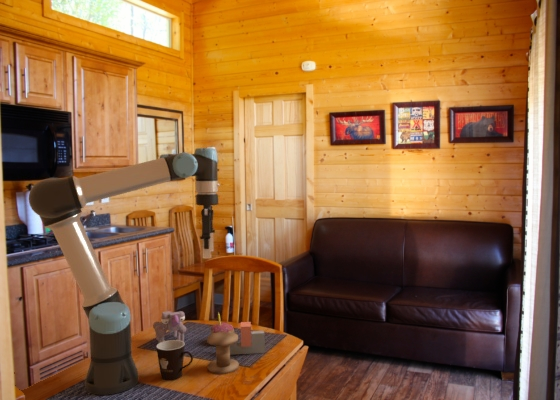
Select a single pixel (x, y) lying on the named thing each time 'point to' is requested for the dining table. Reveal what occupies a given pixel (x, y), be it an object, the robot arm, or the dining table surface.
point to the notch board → (256, 344)
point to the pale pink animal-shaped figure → (170, 325)
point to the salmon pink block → (245, 334)
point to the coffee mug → (171, 359)
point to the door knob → (222, 353)
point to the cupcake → (221, 327)
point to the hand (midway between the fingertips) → (208, 254)
